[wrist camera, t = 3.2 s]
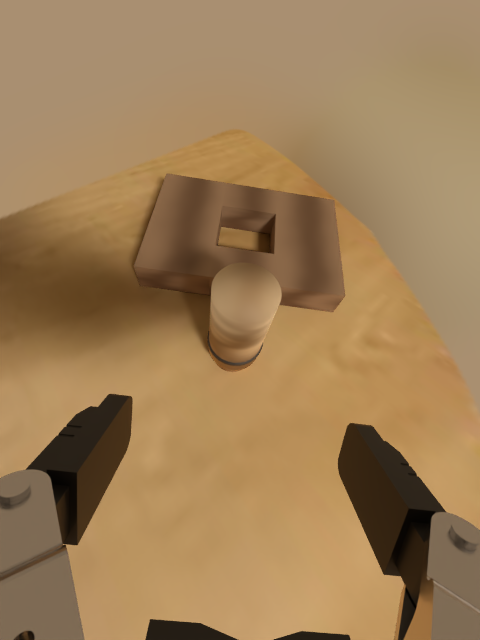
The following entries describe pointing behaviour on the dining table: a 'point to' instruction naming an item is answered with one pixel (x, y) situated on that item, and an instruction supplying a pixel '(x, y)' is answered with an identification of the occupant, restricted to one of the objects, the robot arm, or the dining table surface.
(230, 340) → the peg
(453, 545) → the robot arm
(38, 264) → the dining table surface
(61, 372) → the dining table surface
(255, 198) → the board
